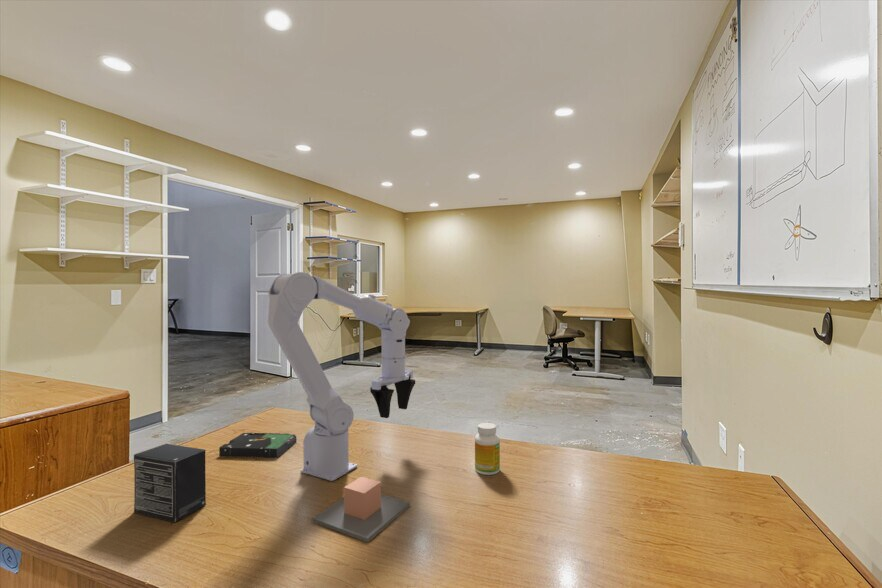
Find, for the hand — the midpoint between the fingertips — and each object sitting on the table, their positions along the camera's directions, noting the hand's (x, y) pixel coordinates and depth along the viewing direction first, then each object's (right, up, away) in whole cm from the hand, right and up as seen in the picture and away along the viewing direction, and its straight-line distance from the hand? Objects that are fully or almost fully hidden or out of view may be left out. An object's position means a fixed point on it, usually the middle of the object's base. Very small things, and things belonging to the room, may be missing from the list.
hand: (393, 412), depth 97 cm
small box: (-38, -10, -25) cm, 46 cm away
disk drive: (-34, -10, +2) cm, 36 cm away
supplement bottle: (+22, -10, -11) cm, 26 cm away
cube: (-2, -9, -27) cm, 29 cm away
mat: (-2, -10, -27) cm, 29 cm away
